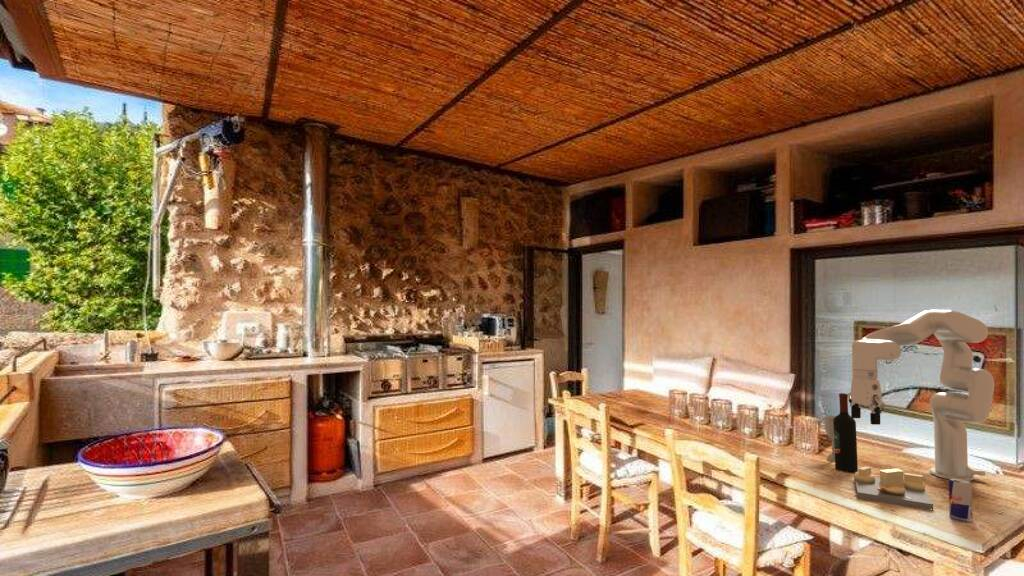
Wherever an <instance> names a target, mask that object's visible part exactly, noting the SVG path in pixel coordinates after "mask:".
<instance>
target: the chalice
mask: <svg viewBox="0 0 1024 576" xmlns="http://www.w3.org/2000/svg"><path fill="white" fill-rule="evenodd" d="M836 416H837V415H823V416H822V418H823V419H824V431H825V433H826V434H827V437H828V438H829V439H831V444H830V445H831V447H830V449H831V453H829V454H828V456H827V458H826V460H828V461H830V462H834V463H835V449H834V425H833V420H834V418H835V417H836Z"/></svg>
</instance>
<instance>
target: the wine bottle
mask: <svg viewBox="0 0 1024 576" xmlns="http://www.w3.org/2000/svg"><path fill="white" fill-rule="evenodd" d="M847 394H848V393H844V392H841V393H838V397H839V413H838V414H837V415H835V416H836V417H835V418H834V420H833V425H834V449H835V462H834V465H835V467H834V468H835V470H837V471H838V472H839V471H840V472H842V473H843V472H844V473H853V474H855V472H858V468H859V464H858V444H857V422H856V420H855V418H852V417H851V415H850V414H849V399H848V396H847Z"/></svg>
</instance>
